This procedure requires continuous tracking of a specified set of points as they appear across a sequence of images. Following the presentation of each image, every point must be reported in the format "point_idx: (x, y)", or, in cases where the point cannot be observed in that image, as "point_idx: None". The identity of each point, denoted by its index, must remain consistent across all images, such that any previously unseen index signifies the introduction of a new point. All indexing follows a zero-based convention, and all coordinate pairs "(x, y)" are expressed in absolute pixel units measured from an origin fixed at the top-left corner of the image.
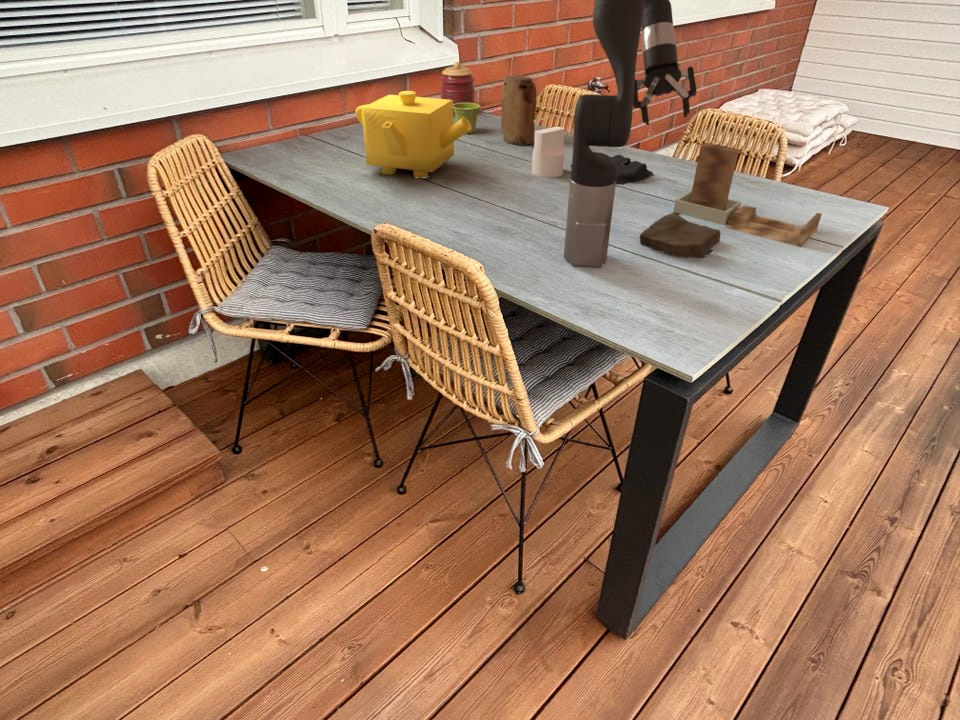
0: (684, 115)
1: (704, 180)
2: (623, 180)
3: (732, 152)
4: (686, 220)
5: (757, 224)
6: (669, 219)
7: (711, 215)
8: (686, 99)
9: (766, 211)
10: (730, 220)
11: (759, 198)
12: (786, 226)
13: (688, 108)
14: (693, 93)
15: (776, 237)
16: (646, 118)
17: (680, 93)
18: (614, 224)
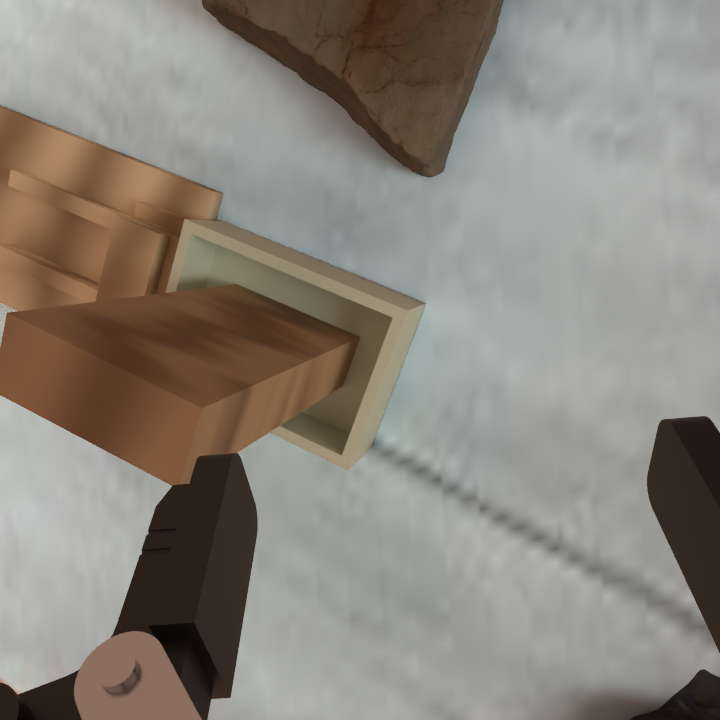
0: (231, 455)
1: (250, 342)
2: (704, 707)
3: (19, 314)
4: (343, 75)
5: (97, 214)
6: (422, 67)
7: (255, 241)
8: (144, 628)
9: (102, 452)
10: None
11: (129, 581)
12: (20, 252)
13: (163, 521)
14: (8, 695)
15: (49, 157)
16: (708, 443)
17: (190, 709)
18: (709, 82)
